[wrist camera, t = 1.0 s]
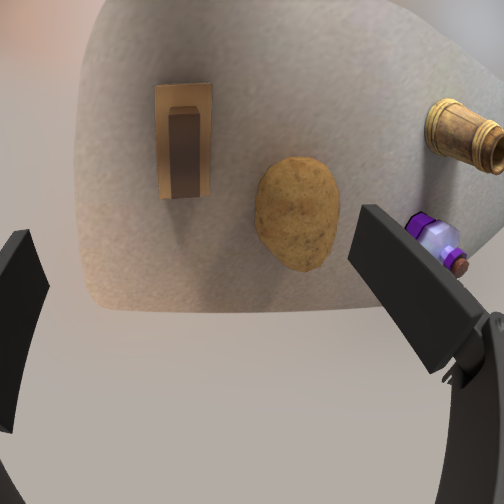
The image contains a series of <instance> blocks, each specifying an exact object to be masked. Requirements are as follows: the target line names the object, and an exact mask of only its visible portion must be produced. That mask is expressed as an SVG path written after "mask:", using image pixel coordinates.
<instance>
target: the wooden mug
mask: <svg viewBox="0 0 504 504" xmlns="http://www.w3.org/2000/svg"><path fill="white" fill-rule="evenodd" d="M425 137H426V141H427V144H428V146H429V148H430V149H431V151H432V152H433V153H435V154H437V155H441V156H444V157H451V158H454V159H456V160H459V161H462V162H465V163H467V164H470V165H473V166H475V167H476V168H477V169H478V170H480V171H483V172H485V173H492V174H494V175H499V174H501V173H502V172H503V171H504V130H503V129H502V127H500V126H499V125H498V124H497V123H496V122H494V121H493V120H486V119H484V118H482V117H481V116H479V115H477V114H475V113H474V112H472V111H470V110H469V109H467V108H465V106H464V105H463V104H461V103H459V102H457V101H455V100H453V99H450V98H448V99H442V100H440V101H438V102H437V103H436V104H435V105H433V106H432V108H431V110H430V111H429V113H428V116H427V119H426V125H425Z"/></svg>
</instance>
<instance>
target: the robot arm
mask: <svg viewBox="0 0 504 504" xmlns="http://www.w3.org/2000/svg"><path fill="white" fill-rule="evenodd" d="M348 260H349V261H350V263H351V264H352V265H353V267H354V268H355V269H356V270H357V272H358V273H359V274H360V276H361V277H362V278H363V280H364V281H365V282H366V284H367V285H368V286H369V288H370V289H371V290H372V292H373V293H374V294H375V296H376V297H377V298H378V300H379V301H380V302H381V304H382V305H383V307H384V308H385V309H386V311H387V312H388V313H389V315H390V316H391V318H392V319H393V320H394V322H395V323H396V325H397V326H398V328H399V329H400V330H401V332H402V333H403V335H404V336H405V338H406V339H407V341H408V342H409V343H410V345H411V346H412V348H413V349H414V351H415V352H416V354H417V355H418V357H419V358H420V360H421V361H422V363H423V364H424V366H425V367H426V369H427V370H428V372H429V374H432V373H434V372H436V371H438V370H440V369H442V368H444V367H445V366H446V364H447V363H448V362H449V361H450V359H451V358H452V357H454V358H455V360H456V362H455V363H454V365H453V366H452V367H451V368H450V370H449V371H448V372H447V373H446V374H445V375H444V377H443V378H442V382H443V383H444V382H445V381H446V380H447V379H448V378H449V376H450V375H452V378H451V379H450V380H449V381H448V383H447V384H450V385H452V391H451V407H450V419H449V429H448V438H447V445H446V452H445V458H444V465H443V470H442V475H441V480H440V484H439V489H438V493H437V497H436V501H435V504H504V314H502V313H500V312H493V313H491V315H490V314H489V313H488V312H487V311H486V310H485V309H484V308H483V306H482V305H481V304H480V303H479V302H478V301H477V300H476V299H475V297H474V296H473V295H472V294H471V293H470V292H469V291H468V290H467V289H466V288H464V287H463V284H462V283H461V282H460V281H459V280H457V278H456V277H455V276H454V275H453V274H452V273H451V272H450V271H449V270H448V269H447V268H445V267H444V266H443V265H442V264H441V263H440V262H439V261H438V260H437V259H436V258H435V257H434V256H433V255H431V254H430V253H429V252H428V251H427V250H426V249H425V248H424V247H423V246H422V245H421V244H420V243H419V242H418V241H417V240H416V239H415V238H414V237H413V236H411V235H410V234H409V233H408V232H407V231H406V230H405V229H404V228H403V227H402V226H401V225H399V224H398V223H397V222H396V221H395V220H394V219H393V218H391V217H390V216H389V215H388V214H387V213H386V212H385V211H383V210H382V209H381V208H380V207H379V206H378V205H376V204H367V205H362V207H361V211H360V215H359V219H358V222H357V226H356V230H355V234H354V237H353V241H352V245H351V248H350V252H349V255H348ZM49 287H50V285H49V283H48V281H47V278H46V276H45V273H44V271H43V268H42V265H41V263H40V260H39V257H38V255H37V252H36V249H35V246H34V243H33V240H32V237H31V234H30V231H29V229H26V230H19V231H14V232H13V233H12V235H11V236H10V238H9V239H8V241H7V242H6V243H5V245H4V246H3V248H2V249H1V251H0V431H1V432H6V433H10V434H12V433H13V425H14V417H15V411H16V405H17V400H18V394H19V389H20V384H21V380H22V375H23V371H24V367H25V362H26V359H27V355H28V351H29V348H30V344H31V341H32V337H33V334H34V330H35V327H36V324H37V321H38V318H39V315H40V312H41V309H42V306H43V303H44V300H45V298H46V295H47V292H48V290H49ZM0 504H26V503H25V502H24V500H23V499H22V497H21V495H20V494H19V492H18V490H17V489H16V487H15V485H14V484H13V483H12V481H11V479H10V477H9V475H8V473H7V471H6V470H5V468H4V466H3V464H2V462H1V460H0Z"/></svg>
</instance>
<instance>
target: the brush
mask: <svg viewBox="0 0 504 504" xmlns="http://www.w3.org/2000/svg"><path fill="white" fill-rule="evenodd" d="M211 103H212V84H210V83H208V82H200V83H174V84H159V85H157V86H156V87H155V128H156V152H157V169H158V184H159V197H160V199H165V198H172V199H177V198H191V197H200V196H208V195H210V139H211Z"/></svg>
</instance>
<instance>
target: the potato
mask: <svg viewBox="0 0 504 504" xmlns="http://www.w3.org/2000/svg"><path fill="white" fill-rule="evenodd" d="M339 212H340V195H339V190H338V187H337V185H336V182H335V180H334V177H333V176H332V174H331V172H330V171H329V169H328V168H327V166H326V165H325V164H323V163H321V162H319V161H317V160H315V159H313V158H311V157H288V158H286V159H284V160H282V161H280V162H278V163H277V164H275V165H273V166H271V167H269V169H268V170H267V172H266V173H265V175H264V176H263V178H262V179H261V180H260V183H259V187H258V190H257V195H256V207H255V227H256V230H257V233H258V236H259V238H260V240H261V241H262V242H263V243H264V245H265V246H266V247H267V248H268V249H269V250H270V251H271V252H272V253H273V254H274V256H275V257H276V258H277V259H278V260H279V261H280V262H281V263H283V264H284V265H286V266H287V267H288V268H290V269H292V270H296V271H300V272H304V273H305V272H308V271H311V270H313V269H316V268H318V267H320V266H321V265H322V263H323V262H324V261H325V259H326V258H327V257H328V255H329V254H330V252H331V249H332V246H333V242H334V239H335V236H336V231H337V226H338V220H339Z"/></svg>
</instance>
